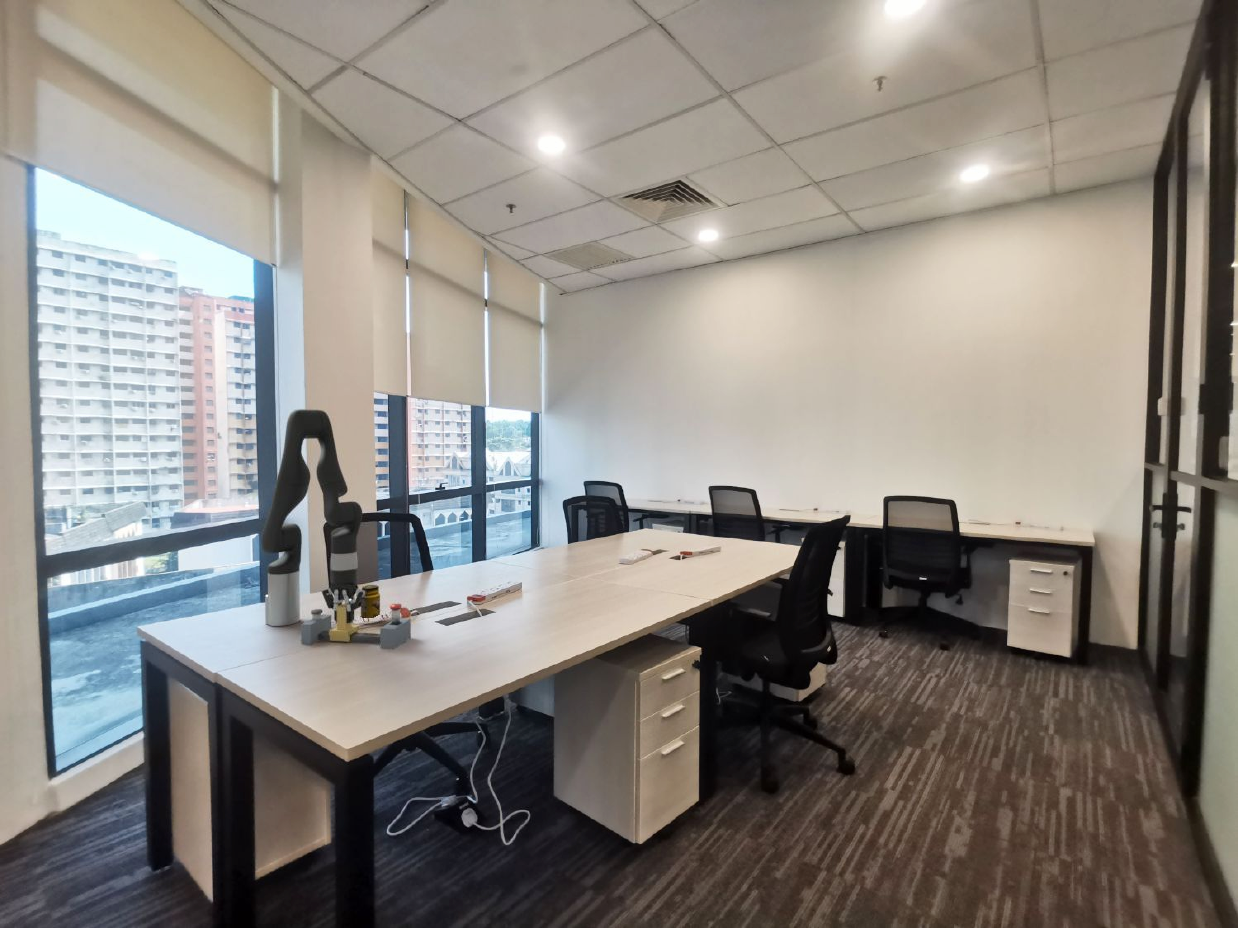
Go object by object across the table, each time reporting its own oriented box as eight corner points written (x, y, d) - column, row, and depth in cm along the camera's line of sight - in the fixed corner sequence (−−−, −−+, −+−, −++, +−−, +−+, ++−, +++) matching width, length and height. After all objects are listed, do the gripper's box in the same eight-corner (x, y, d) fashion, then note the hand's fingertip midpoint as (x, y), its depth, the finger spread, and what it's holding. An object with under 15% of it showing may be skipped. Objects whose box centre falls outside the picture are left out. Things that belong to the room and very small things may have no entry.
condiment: (384, 621, 191) (384, 586, 191) (358, 626, 185) (358, 590, 185) (376, 616, 197) (376, 582, 196) (350, 621, 191) (350, 586, 190)
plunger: (388, 625, 169) (388, 606, 169) (393, 622, 172) (393, 603, 172) (398, 625, 169) (398, 606, 169) (403, 622, 172) (403, 603, 172)
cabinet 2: (380, 648, 166) (380, 628, 166) (397, 636, 176) (397, 617, 176) (394, 648, 166) (394, 628, 165) (410, 637, 176) (410, 618, 175)
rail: (318, 640, 172) (318, 633, 172) (324, 637, 175) (324, 630, 175) (386, 644, 170) (386, 637, 170) (391, 640, 173) (391, 634, 172)
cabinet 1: (301, 643, 169) (301, 615, 169) (322, 632, 179) (322, 605, 179) (310, 644, 169) (310, 615, 168) (331, 633, 179) (331, 606, 178)
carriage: (329, 640, 170) (329, 607, 170) (341, 634, 176) (341, 602, 176) (347, 641, 169) (347, 608, 169) (359, 635, 175) (359, 603, 175)
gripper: (314, 568, 169) (315, 624, 170) (358, 570, 167) (358, 627, 168) (330, 563, 177) (330, 617, 177) (372, 564, 175) (372, 619, 175)
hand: (344, 621), depth 173 cm, fingers closed on carriage, 3 cm apart
